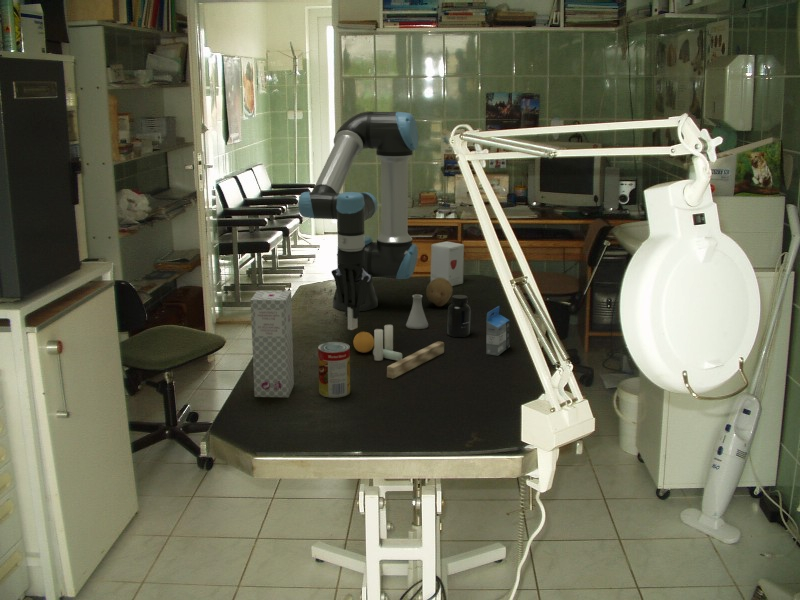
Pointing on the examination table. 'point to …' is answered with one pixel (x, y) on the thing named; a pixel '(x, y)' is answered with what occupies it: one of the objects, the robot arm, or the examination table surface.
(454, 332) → the supplement bottle
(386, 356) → the front pin
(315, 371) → the examination table surface
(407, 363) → the wooden bar
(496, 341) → the label tape box
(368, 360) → the examination table surface
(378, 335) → the pin
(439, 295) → the natural sponge
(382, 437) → the examination table surface
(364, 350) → the ball
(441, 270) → the supplement box
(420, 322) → the flask
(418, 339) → the examination table surface
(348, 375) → the canned food
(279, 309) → the box
